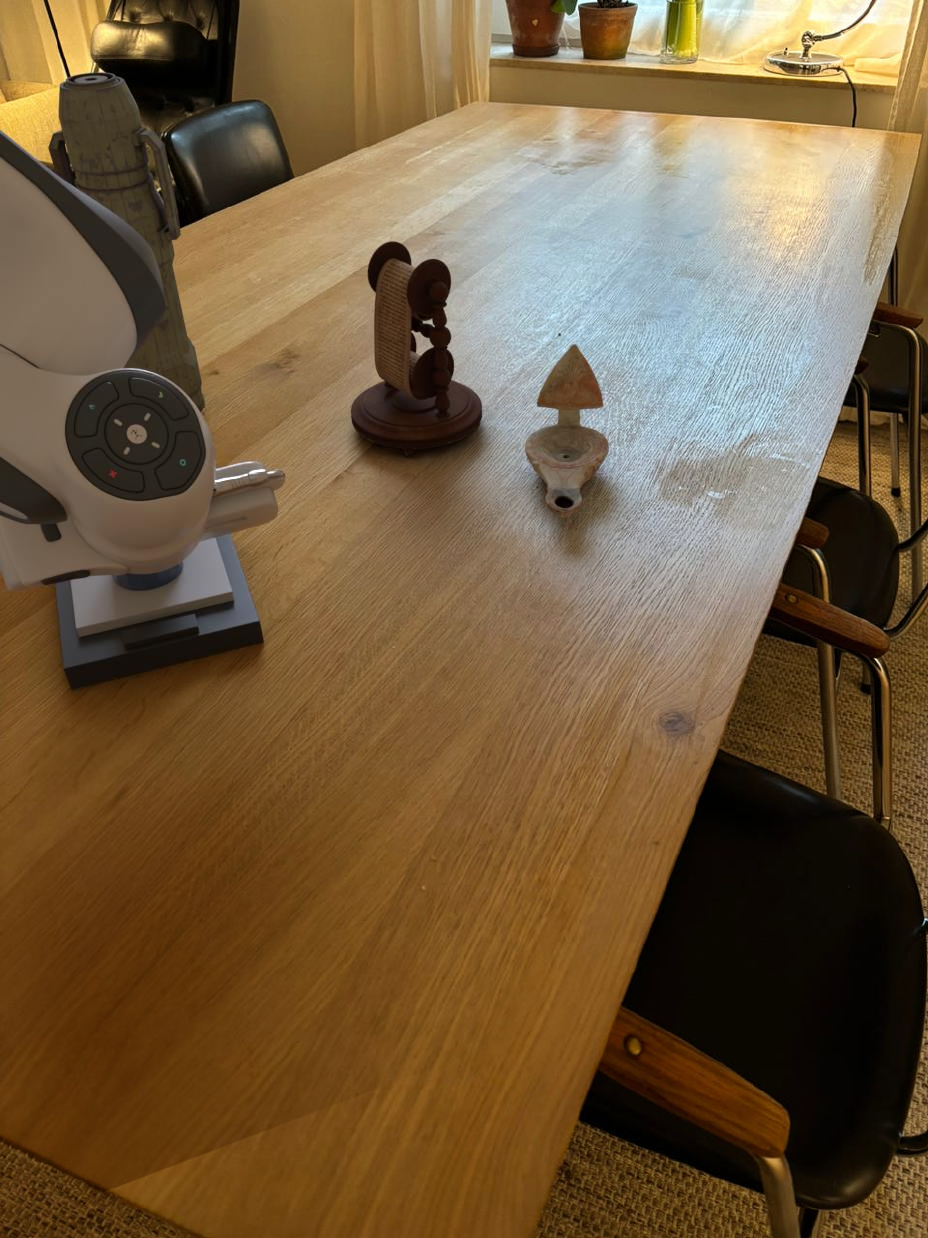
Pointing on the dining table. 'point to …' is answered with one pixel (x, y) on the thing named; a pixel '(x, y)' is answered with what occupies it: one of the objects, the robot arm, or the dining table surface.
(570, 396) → the oil lamp
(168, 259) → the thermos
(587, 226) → the dining table surface
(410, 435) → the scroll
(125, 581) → the cup
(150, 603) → the scale
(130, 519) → the robot arm
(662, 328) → the dining table surface
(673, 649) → the dining table surface
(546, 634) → the dining table surface
